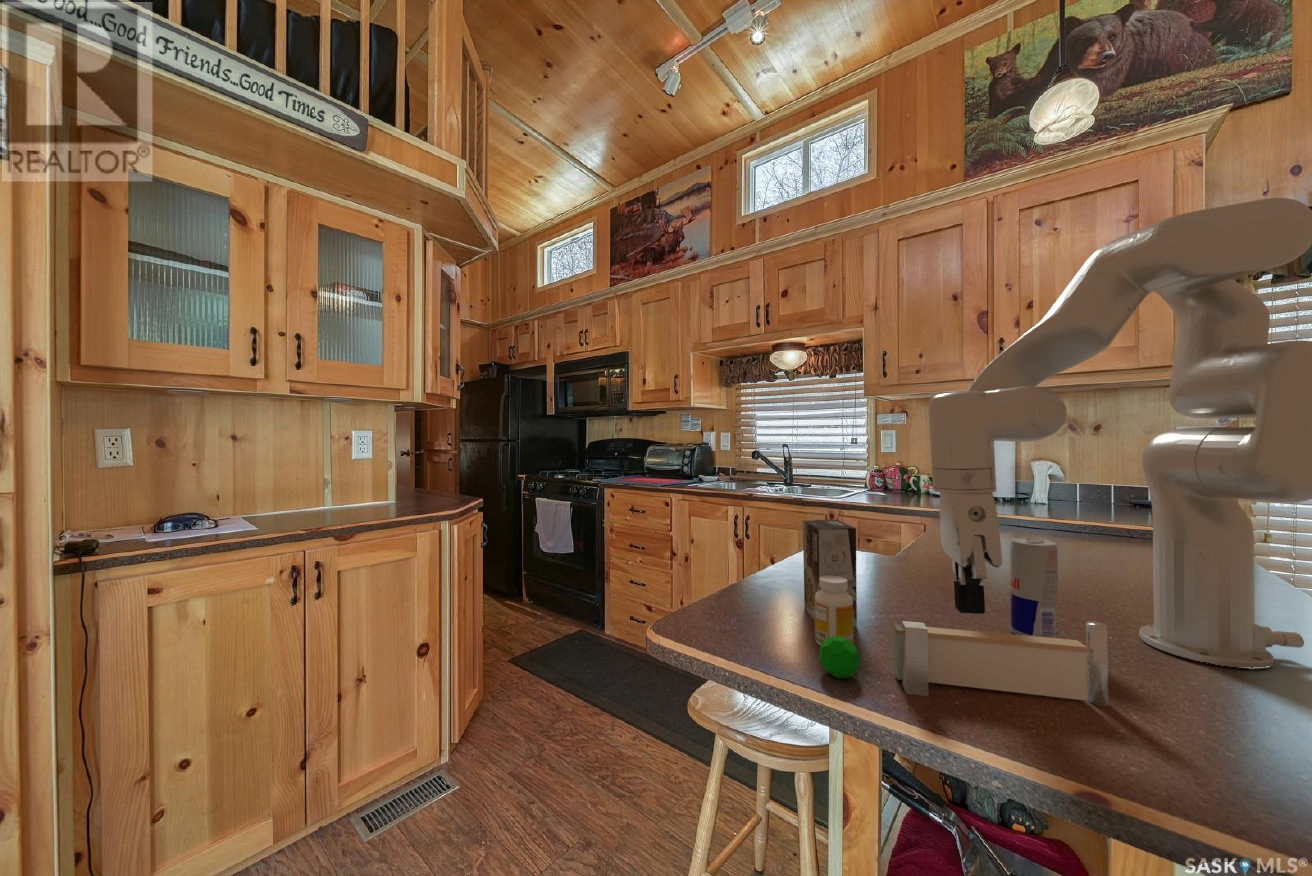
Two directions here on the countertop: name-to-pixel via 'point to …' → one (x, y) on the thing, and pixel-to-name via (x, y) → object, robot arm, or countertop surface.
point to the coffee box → (828, 558)
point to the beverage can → (1034, 587)
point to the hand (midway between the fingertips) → (969, 611)
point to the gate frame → (918, 660)
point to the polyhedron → (839, 657)
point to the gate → (1003, 662)
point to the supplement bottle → (833, 609)
